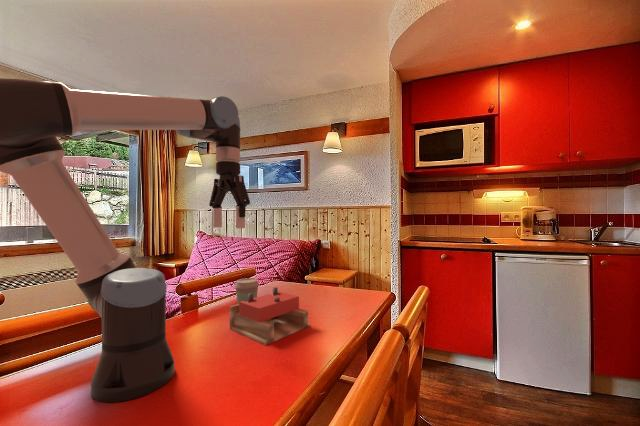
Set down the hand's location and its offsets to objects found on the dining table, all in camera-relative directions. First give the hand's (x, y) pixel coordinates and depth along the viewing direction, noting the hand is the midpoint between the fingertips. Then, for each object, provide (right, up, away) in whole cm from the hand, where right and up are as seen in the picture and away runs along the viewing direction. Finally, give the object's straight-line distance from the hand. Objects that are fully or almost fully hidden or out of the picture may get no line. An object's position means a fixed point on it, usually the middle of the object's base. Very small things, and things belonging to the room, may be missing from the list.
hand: (228, 227), depth 93 cm
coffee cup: (+3, -32, +12) cm, 34 cm away
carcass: (+14, -32, -1) cm, 34 cm away
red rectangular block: (+14, -27, -2) cm, 30 cm away
